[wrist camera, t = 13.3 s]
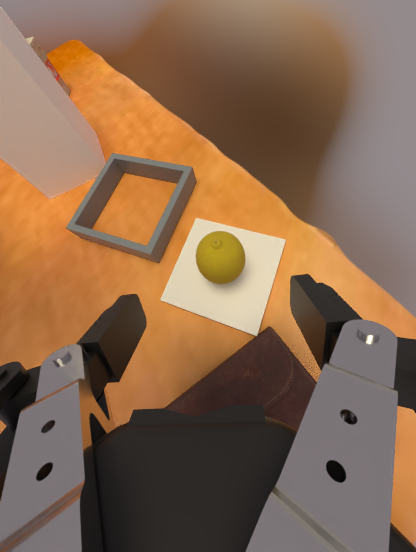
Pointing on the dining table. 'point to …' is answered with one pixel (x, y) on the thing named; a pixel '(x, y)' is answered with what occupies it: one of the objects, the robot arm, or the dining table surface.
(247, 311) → the board
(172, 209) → the grey square frame
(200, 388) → the notebook
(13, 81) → the milk
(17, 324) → the dining table surface
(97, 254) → the dining table surface
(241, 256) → the lemon
